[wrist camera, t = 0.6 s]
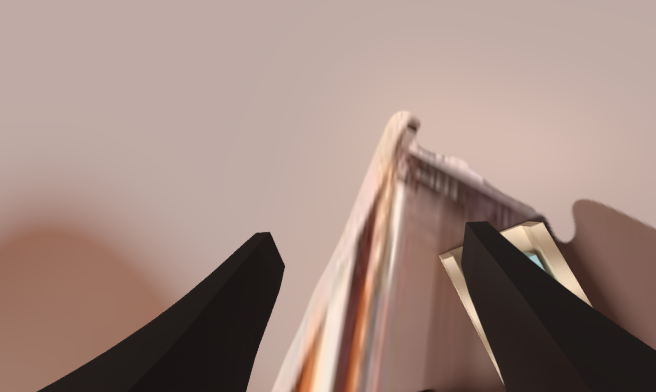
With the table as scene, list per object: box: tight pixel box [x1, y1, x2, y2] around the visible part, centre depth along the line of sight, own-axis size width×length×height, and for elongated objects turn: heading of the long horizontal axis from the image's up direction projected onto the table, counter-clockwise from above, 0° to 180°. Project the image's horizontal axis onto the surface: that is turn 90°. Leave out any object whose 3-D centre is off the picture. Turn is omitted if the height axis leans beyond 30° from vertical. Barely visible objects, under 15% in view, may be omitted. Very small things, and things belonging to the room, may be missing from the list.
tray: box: [439, 221, 592, 386], centre depth 28 cm, size 20×11×3 cm, turn 24°
